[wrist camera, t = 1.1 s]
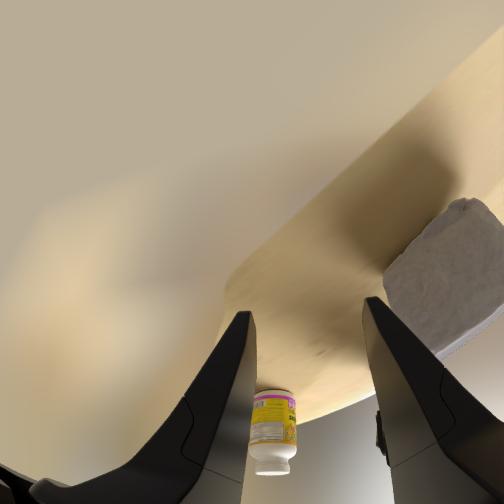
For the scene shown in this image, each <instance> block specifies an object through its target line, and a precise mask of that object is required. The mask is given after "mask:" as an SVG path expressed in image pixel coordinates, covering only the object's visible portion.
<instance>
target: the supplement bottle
mask: <svg viewBox="0 0 504 504" xmlns="http://www.w3.org/2000/svg"><path fill="white" fill-rule="evenodd" d="M249 453H250V455H251V456H252V457H253V458H255V459H257V464H256V466H255V473H256V474H260V475H283V474H288V473H289V471H290V467H289V464H288V459H289V458H291V457H293V456H294V455H295V453H296V403H295V397H294V396H293V395H292V394H291V393H289V392H287V391H282V390H267V391H262V392H259V393H257V394H256V395H254V404H253V412H252V420H251V429H250V446H249Z"/></svg>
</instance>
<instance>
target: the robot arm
mask: <svg viewBox="0 0 504 504" xmlns="http://www.w3.org/2000/svg"><path fill="white" fill-rule="evenodd" d="M362 322H363V328H364V335H365V341H366V348H367V355H368V362H369V366H370V370H371V374H372V379H373V383H374V387H375V391H376V395H377V400H378V404H379V409H380V410H378V411H377V415H376V422H377V437H376V446H377V447H378V448H380V450H381V452H382V454H383V455H384V456H385V455H386V460H387V464H388V466H389V467H390V468H391V477H392V484H393V493H394V501H395V504H504V422H502V421H500V420H499V419H497V418H496V417H495V416H494V415H493V414H492V413H491V412H490V411H489V410H488V409H486V408H485V407H484V406H483V405H482V404H481V403H480V402H479V401H478V400H477V399H476V398H475V397H474V396H473V395H472V394H470V393H469V392H468V391H467V390H466V389H465V388H464V387H463V386H462V385H461V384H460V383H459V381H458V380H457V379H456V378H455V377H454V376H453V375H452V374H451V373H450V372H449V371H448V370H447V368H444V365H443V364H442V363H441V362H440V361H439V360H438V359H437V357H436V356H435V355H434V354H433V353H432V352H431V351H430V350H429V349H428V348H427V347H426V346H425V344H424V343H423V342H422V341H421V340H420V339H419V338H418V337H417V336H416V335H415V334H414V333H413V332H412V331H411V330H410V329H409V328H408V327H407V326H406V325H405V324H404V322H403V321H402V320H401V319H400V318H399V317H398V316H397V315H396V314H395V313H394V312H393V311H392V310H391V309H390V308H389V307H388V306H387V305H386V304H385V303H384V302H383V301H382V300H381V299H380V298H379V297H377V296H374V297H367V298H365V300H364V306H363V312H362ZM256 378H257V345H256V326H255V323H254V319H253V315H252V312H251V311H239V312H238V313H237V314H236V316H235V317H234V319H233V320H232V322H231V323H230V325H229V327H228V328H227V330H226V331H225V333H224V334H223V336H222V337H221V339H220V341H219V342H218V344H217V345H216V347H215V348H214V350H213V351H212V353H211V354H210V356H209V358H208V359H207V361H206V362H205V364H204V365H203V367H202V368H201V370H200V371H199V373H198V374H197V376H196V378H195V379H194V380H193V382H192V383H191V385H190V387H189V388H188V389H187V391H186V392H185V394H184V396H183V397H182V398H181V400H180V401H179V403H178V404H177V406H176V407H175V409H174V410H173V411H172V413H171V414H170V416H169V417H168V418H167V420H166V421H165V422H164V423H163V424H162V426H161V427H160V428H159V429H158V430H157V432H156V433H155V434H154V435H153V436H152V437H151V438H150V439H149V440H148V442H147V443H146V444H145V445H144V446H143V447H142V448H141V449H140V450H139V452H138V453H137V454H136V455H135V456H134V457H133V458H132V459H131V460H130V461H128V462H127V463H126V464H124V465H122V466H121V467H119V468H117V469H115V470H112V471H110V472H108V473H106V474H103V475H101V476H98V477H96V478H93V479H91V480H89V481H86V482H83V483H81V484H78V485H75V486H69V485H66V484H63V483H60V482H58V481H55V480H52V479H49V478H43V479H41V480H39V481H36V480H33V479H31V478H29V477H27V476H25V475H22V474H20V473H18V472H16V471H14V470H12V469H10V468H8V467H6V466H4V465H2V464H0V504H240V502H241V495H242V488H243V484H242V483H243V481H244V473H245V466H246V459H247V451H248V443H249V436H250V428H251V420H252V412H253V404H254V395H255V387H256Z"/></svg>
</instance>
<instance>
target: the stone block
mask: <svg viewBox="0 0 504 504" xmlns="http://www.w3.org/2000/svg"><path fill="white" fill-rule="evenodd" d="M383 287H384V289H385V291H386V294H387V297H388V301H389V304H390V307H391V309H392V311H393V312H394V313H395V314H396V315H397V316H398V317H399V318H400V319H401V320H402V321H403V322H404V324H405V325H406V326H407V327H408V328H409V329H410V330H411V331H412V332H413V333H414V334H415V335H416V336H417V337H418V338H419V339H420V340H421V341H422V342H423V343H424V344H425V346H426V347H427V348H428V349H429V350H430V351H431V352H432V353H433V354H434V355H435V356H436V357H437V359H438V360H439V361H441V360H443V359H445V358H446V357H447V356H449V355H450V354H452V353H453V352H454V351H456V350H457V349H459V348H460V347H462V346H463V345H464V344H465V343H467V342H468V341H469V340H471V339H472V338H473V337H474V336H476V335H477V334H479V333H480V332H481V331H482V330H484V329H485V328H486V327H487V326H488V325H489V324H491V323H492V322H493V321H494V320H495V319H497V318H498V317H499V316H500V315H501V314H502V313H503V312H504V226H503V225H502V224H501V223H500V221H499V220H498V219H497V218H496V216H495V215H494V214H493V213H492V212H491V211H490V210H489V209H488V207H487V206H486V205H485V204H484V203H483V202H481V201H480V200H478V199H476V198H472V199H470V200H469V199H466V198H461V199H459V200H455V201H453V202H452V203H451V204H450V205H449V206H448V208H447V210H446V211H445V212H444V213H443V214H442V215H439V216H437V217H436V218H434V219H433V220H432V221H431V222H430V223H429V224H428V225H427V226H426V227H425V228H424V230H423V231H422V233H421V234H420V235H418V236H417V237H416V238H415V239H413V241H412V242H411V243H410V244H409V245H408V246H407V248H406V249H405V251H404V253H402V254H400V255H399V256H398V257H397V258H396V259H395V260H394V261H393V263H392V264H391V265H390V266H389V267H388V268H387V269H386V271H385V272H384V274H383Z"/></svg>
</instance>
